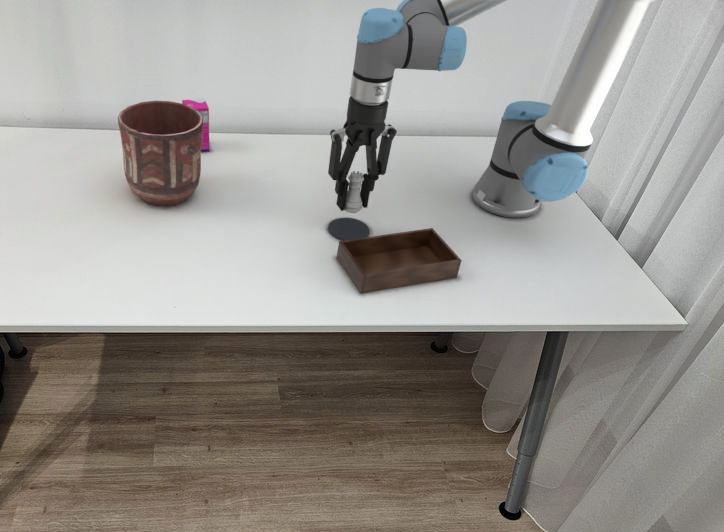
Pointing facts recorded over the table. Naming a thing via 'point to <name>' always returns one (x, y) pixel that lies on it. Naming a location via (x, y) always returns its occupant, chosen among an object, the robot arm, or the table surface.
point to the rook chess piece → (354, 193)
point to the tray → (397, 260)
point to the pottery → (161, 150)
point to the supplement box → (204, 111)
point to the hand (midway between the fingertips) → (351, 205)
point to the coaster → (348, 229)
